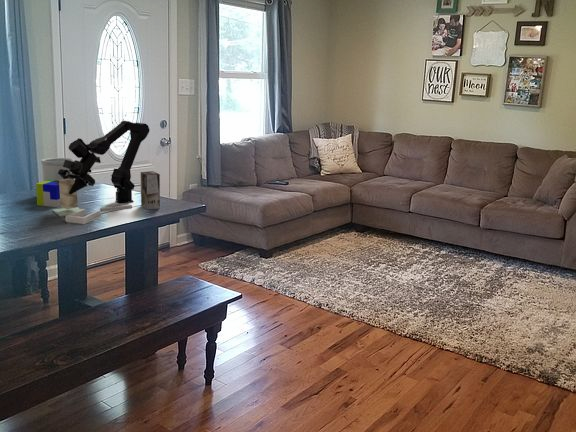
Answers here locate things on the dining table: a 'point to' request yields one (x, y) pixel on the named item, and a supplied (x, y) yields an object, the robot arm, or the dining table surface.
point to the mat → (66, 211)
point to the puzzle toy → (48, 193)
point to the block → (67, 194)
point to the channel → (78, 218)
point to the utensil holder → (53, 168)
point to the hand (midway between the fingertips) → (65, 192)
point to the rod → (116, 207)
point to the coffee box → (150, 190)
